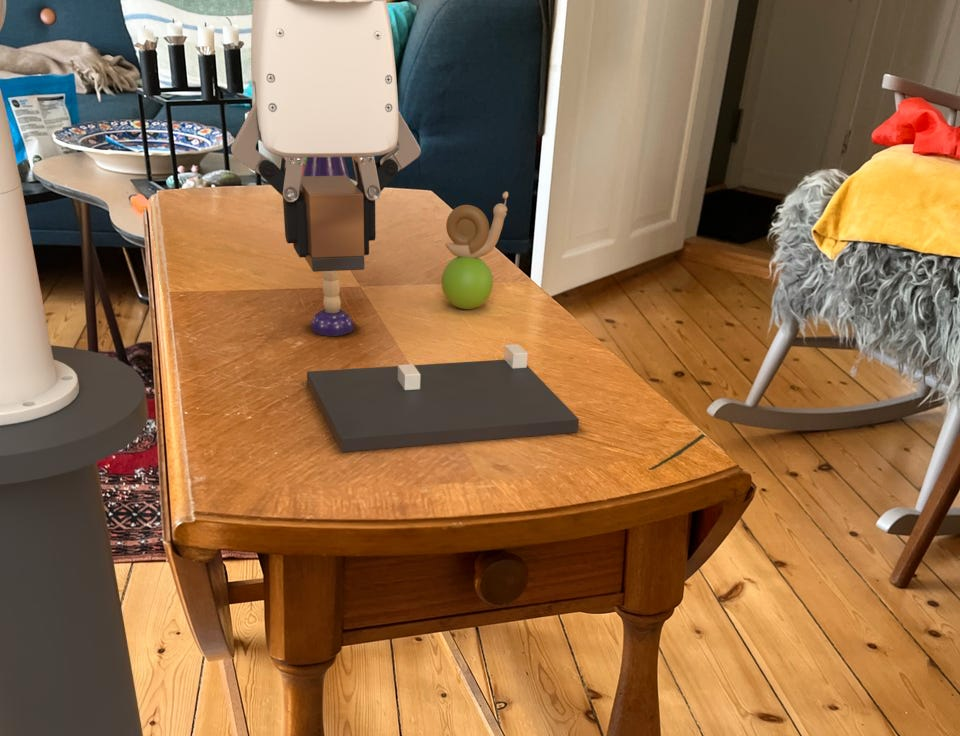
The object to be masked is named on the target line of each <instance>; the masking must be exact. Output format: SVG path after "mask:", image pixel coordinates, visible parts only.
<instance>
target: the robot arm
mask: <svg viewBox="0 0 960 736" xmlns="http://www.w3.org/2000/svg"><path fill="white" fill-rule="evenodd" d="M6 13H7V0H0V32H1V30H2V28H3V27H4V23H5V19H6V15H7V14H6ZM251 15H252V16H251V33H250V34H251V35H250V36H251V37H250V64H251V65H250V74H251V77H250V79H251V106H252V107H251V108H250V110H249V112H248V114H247V116H246V118H245V120H244V122H243V124H242V125H241V127H240V129H239V131H238V133H237V134H236V136H235V139H234V140H233V142H232V144H231V146H230V152H231V154H232V156H233V158H234V159H235V160H236V161H238V162H239V163H241V164H243V165H244V166H246V167H247V168H249V170H251V171H253V172H255V173H257V174H258V175H259V176H261V177H262V178H263V179H264V180H265V181H266V182H267V183H268V184H269V185H270V186H271V187H272V188H273V189H274V190H275V191H277V193H278V194H280V196H281V197H282V203H283V205H282V207H283V220H284V222H283V223H284V236H285V242H286V243H287V244H292V245H293V249H294V250H295V253H296V254H297V256H298V257H299V258H304V257H306V256H307V255H308V254H309V252H308V232H307V210H306V203H305V202H304V200H303V199H302V192H301V190H300V185H301V178H302V170H303V163H304V157H344V158H351V161H352V165H353V171H354V175H355V180H356V184H355V185H356V187H357V188H358V189H359V190H360V191H361V192H362V193H363V203H364V256H369V254H370V242H371V241H373V242H374V241H376V235H377V234H376V233H377V232H376V200H378V199H379V198H380V196H381V192H382V191H383V190H384V189H385V188H386V187H387V185H388V184H389V183H390V182H391V181H392V180H393V179H394V178H395V177H396V175H397V174H398V172H400V171H401V170H404V169H405V168H406V167H407V166H408V165H410V164H412V162H414V161H415V160H417V159H418V158H419V157H420V156H421V153H422V150H421V147H420V145H419V144H418V142H417V139H416V138H415V137H414V135H413V133H412V131H411V130H410V128H409V126H408V124H407V122H406V121H405V119H404V117H403V116H402V114H401V112H400V111H399V100H398V99H399V96H398V95H399V94H398V83H397V69H396V68H397V67H396V60H395V59H396V58H395V50H394V49H395V47H394V38H393V31H392V24H391V19H390V12H389V8H388V2H387V0H253V4H252V14H251ZM259 141H260V142H261V143H262V145H263V148H264V149H265V151H267V152H268V153H270V154H273V155H275V156H278V157H280V160H279V166H278V165H276V164H275V162H274V161H273V160H272V159H270V158H269V157H267V156H266V155H264V154H262V153H261V152H260V151H258V149H257V145H258V142H259ZM379 156H380V157H379ZM375 157H379V159H378V160H377V161H376V160H375ZM27 213H28V212H27V208H26V202H25V198H24V193H23V187H22V182H21V177H20V172H19V166H18V161H17V157H16V150H15V147H14V141H13V137H12V132H11V128H10V123H9V117H8V113H7V109H6V106H5V102H4V97H3V94H2V90H1V89H0V426H4V425H11V424H18V423H22V422H27V421H31V420H35V419H38V418H42V417H45V416H48V415H50V414H52V413H55V412H57V411H59V410H61V409H63V408H64V407H66V406H68V405H69V404H70V403H71V402H72V401H73V400H74V399H75V398H76V396H77V395H78V393H79V383H78V378H77V374H76V373H75V372H74V370H73V369H72V368H70V367H69V366H67V365H66V364H64V363H61V362H59V361H57V360H53V354H52V349H51V345H52V344H51V338H50V332H49V328H48V323H47V315H46V312H45V305H44V301H43V295H42V289H41V284H40V279H39V274H38V268H37V262H36V258H35V251H34V246H33V241H32V235H31V231H30V230H31V229H30V224H29V219H28V214H27Z"/></svg>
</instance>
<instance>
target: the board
mask: <svg viewBox="0 0 960 736" xmlns="http://www.w3.org/2000/svg"><path fill="white" fill-rule="evenodd" d="M413 365H414V366H415V367H416V369H417V370H418V372H419V373H420V375H421V377H420V389H418V390H404V388H403V387H402V386H401V384H400V383H399V381H398V365H394V366H393V365H391V366H376V367H360V368H359V367H358V368H343V369H328V370H309V371H306V384H307V386H308V389H309V391H310V392H311V394H312V396H313V398H314V401H315V402H316V404H317V407H318V408H319V411H320V412H321V414H322V416H323V419H324V420H325V422H326V424H327V427H328V429H329V430H330V432H331V435H332V437H333V439H334V440H335V443H336V445H337V446H338V449H339V451H340V452H341V453H347V452H361V451H362V452H363V451H373V450H384V449H385V450H386V449H396V448H408V447H409V448H411V447H420V446H421V447H422V446H433V445H444V444H445V445H446V444H457V443H467V442H479V441H480V442H481V441H491V440H504V439H513V438H527V437H538V436H549V435H550V436H551V435H552V436H553V435H563V434H564V435H565V434H573V433H574V434H575V433H578V432H579V430H578V429H579V423H580V418H579V417H577V415H576V414H575V413H574V412H573V411H572V410H571V409H570V408H569V407H568V406H567V405H566V404H565V403H564V402H563V401H562V399H560V398H559V397H558V396H557V394H556V393H554V391H553V390H552V389H551V388H550V387H548V385H547V384H546V383H545V382H544V380H542V379H541V378H540V377H539V376H538V375H537V374H536V373H535V371H533V370H532V369H531V368H530V367H529V365H527V367H526V368H514V369H513V368H512V367H511V366H510V365H509V364H508V363H507V362H506V361H505V360H504V359H492V360H490V359H489V360H474V361H473V360H472V361H459V362H441V363H423V364H413Z"/></svg>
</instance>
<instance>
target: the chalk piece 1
mask: <svg viewBox="0 0 960 736" xmlns="http://www.w3.org/2000/svg"><path fill="white" fill-rule="evenodd" d="M414 365H415V364H413V363H407V364H397V366H398V381H399V383H400V384H401V386H402V387H403V388H404V390H418V389H420V377H421V375H420V373H419V372H418V370H417V369H416V367H415V366H414Z"/></svg>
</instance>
